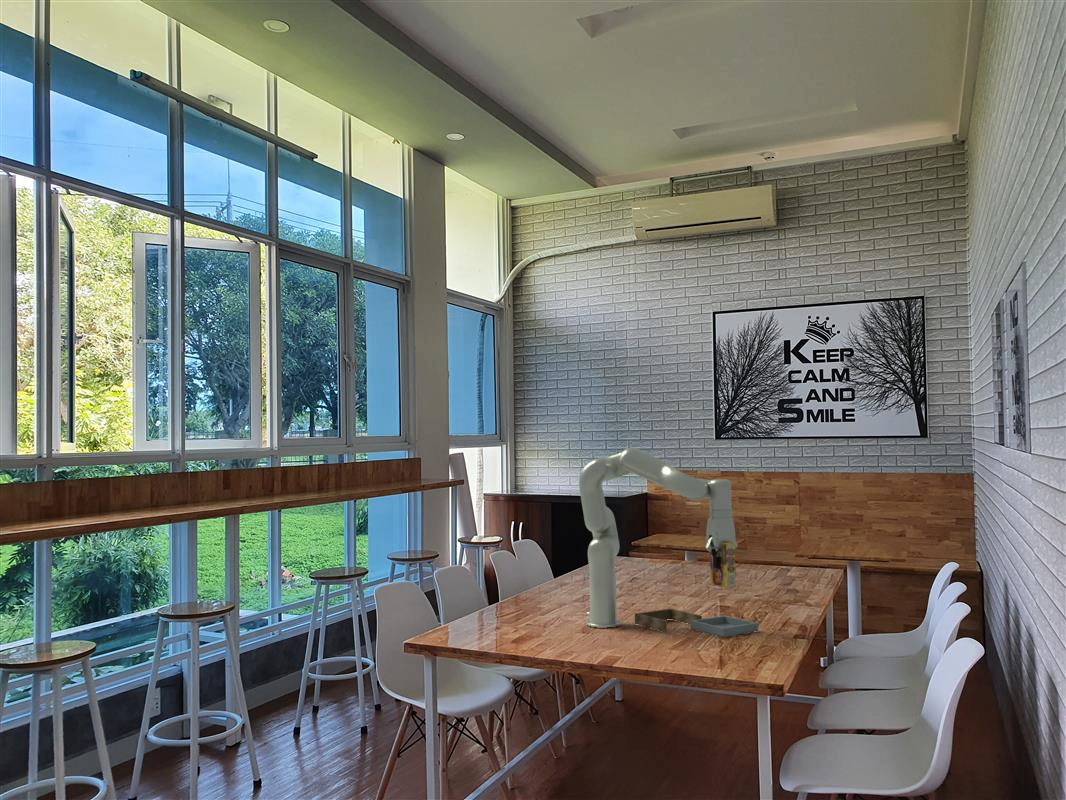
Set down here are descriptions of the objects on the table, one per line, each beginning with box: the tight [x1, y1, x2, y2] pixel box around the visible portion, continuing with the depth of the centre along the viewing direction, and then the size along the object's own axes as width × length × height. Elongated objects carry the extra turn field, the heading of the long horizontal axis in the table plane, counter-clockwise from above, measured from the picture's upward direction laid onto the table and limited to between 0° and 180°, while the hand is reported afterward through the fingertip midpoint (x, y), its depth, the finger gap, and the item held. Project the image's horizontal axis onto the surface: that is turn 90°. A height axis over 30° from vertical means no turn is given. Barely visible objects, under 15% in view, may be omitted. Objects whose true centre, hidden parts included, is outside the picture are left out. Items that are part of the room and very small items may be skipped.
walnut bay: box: [634, 607, 703, 633], centre depth 291 cm, size 16×17×4 cm
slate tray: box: [690, 615, 759, 638], centre depth 282 cm, size 16×16×3 cm
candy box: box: [708, 542, 736, 588], centre depth 283 cm, size 9×4×15 cm, turn 29°
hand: (722, 567), depth 283 cm, fingers closed on candy box, 4 cm apart
